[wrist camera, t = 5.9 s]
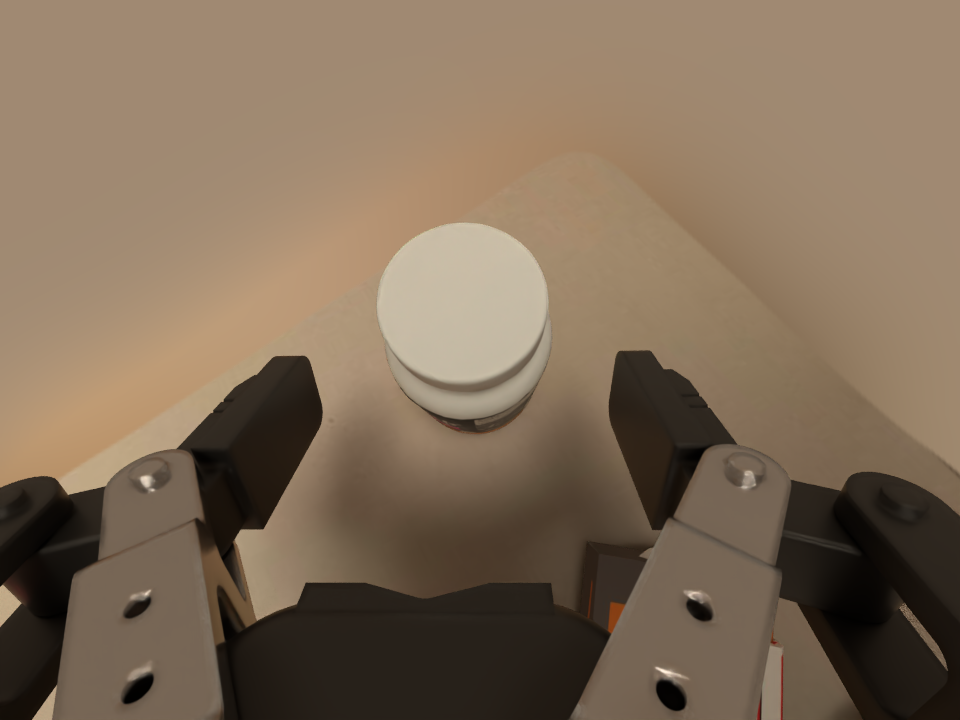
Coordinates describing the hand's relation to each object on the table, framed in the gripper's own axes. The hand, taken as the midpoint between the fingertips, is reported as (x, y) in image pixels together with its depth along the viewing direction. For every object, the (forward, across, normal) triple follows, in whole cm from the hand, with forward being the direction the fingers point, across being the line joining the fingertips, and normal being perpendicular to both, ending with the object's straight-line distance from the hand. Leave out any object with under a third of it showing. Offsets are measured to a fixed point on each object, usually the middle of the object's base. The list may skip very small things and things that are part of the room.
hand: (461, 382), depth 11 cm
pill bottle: (+8, 0, +5) cm, 10 cm away
